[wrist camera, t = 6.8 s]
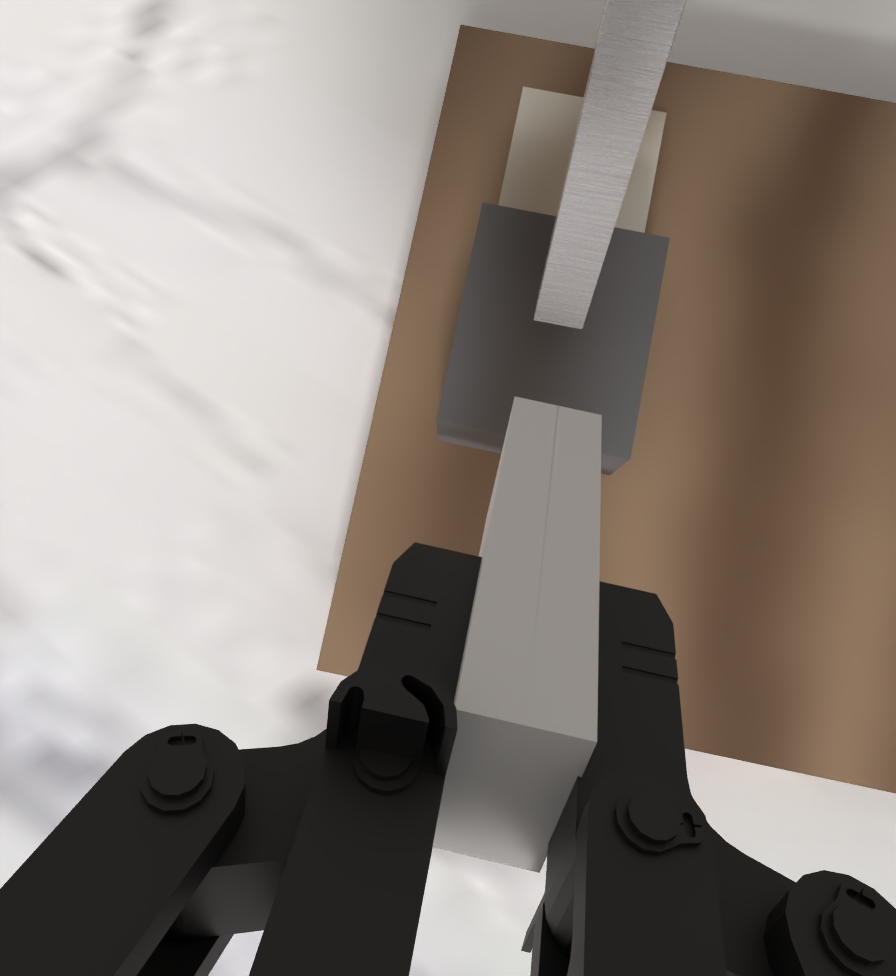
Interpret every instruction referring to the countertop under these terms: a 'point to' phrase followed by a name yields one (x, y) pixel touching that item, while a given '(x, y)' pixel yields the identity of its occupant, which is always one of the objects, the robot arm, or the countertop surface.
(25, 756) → the countertop surface
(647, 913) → the robot arm
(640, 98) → the lever
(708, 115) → the brown wooden base
